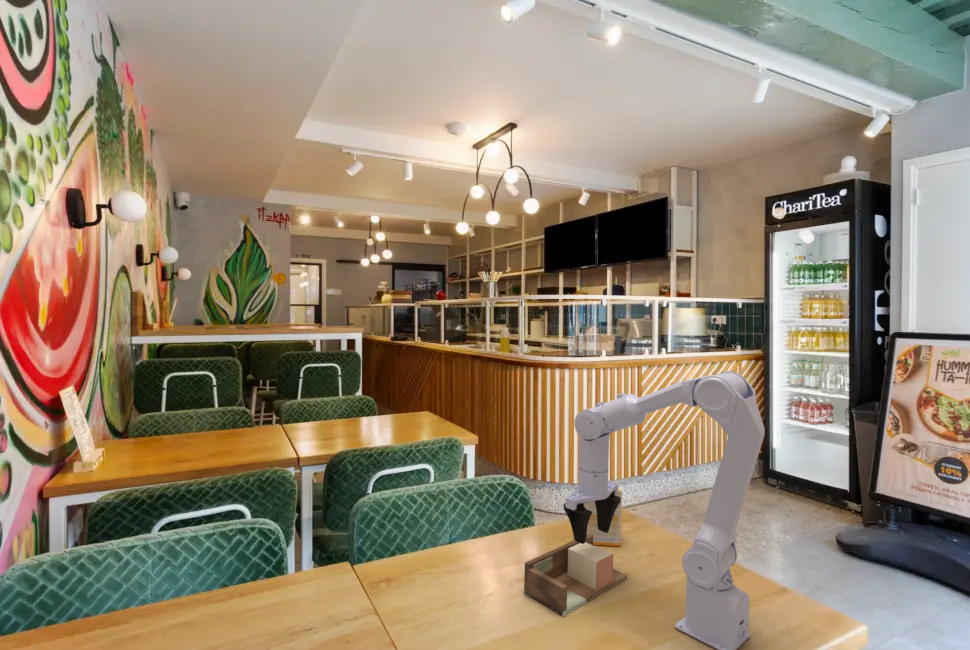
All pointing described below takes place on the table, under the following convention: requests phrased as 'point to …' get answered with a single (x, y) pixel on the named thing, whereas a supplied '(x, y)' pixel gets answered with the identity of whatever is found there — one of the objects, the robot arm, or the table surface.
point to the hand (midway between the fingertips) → (591, 536)
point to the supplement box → (615, 528)
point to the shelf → (561, 581)
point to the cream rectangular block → (590, 565)
